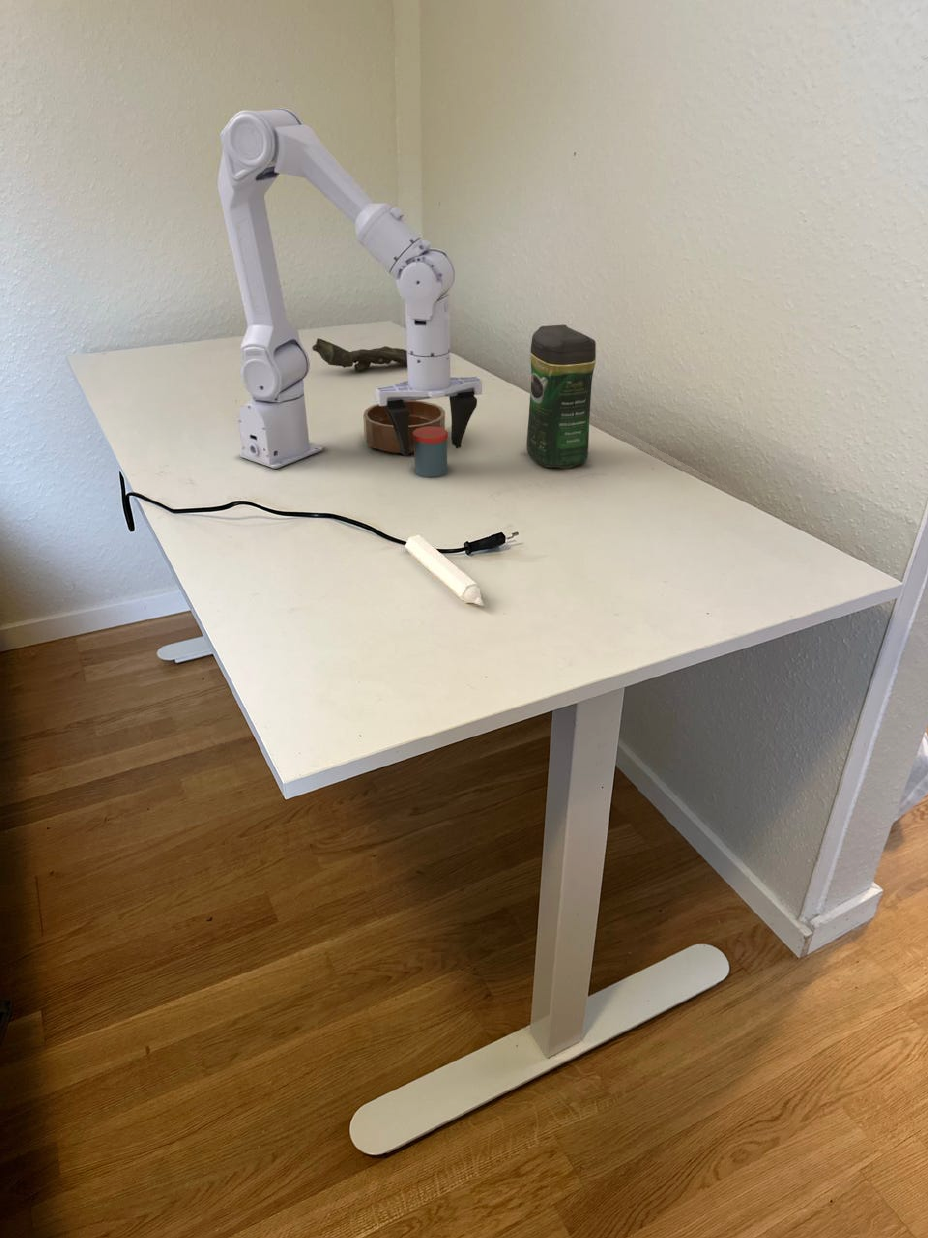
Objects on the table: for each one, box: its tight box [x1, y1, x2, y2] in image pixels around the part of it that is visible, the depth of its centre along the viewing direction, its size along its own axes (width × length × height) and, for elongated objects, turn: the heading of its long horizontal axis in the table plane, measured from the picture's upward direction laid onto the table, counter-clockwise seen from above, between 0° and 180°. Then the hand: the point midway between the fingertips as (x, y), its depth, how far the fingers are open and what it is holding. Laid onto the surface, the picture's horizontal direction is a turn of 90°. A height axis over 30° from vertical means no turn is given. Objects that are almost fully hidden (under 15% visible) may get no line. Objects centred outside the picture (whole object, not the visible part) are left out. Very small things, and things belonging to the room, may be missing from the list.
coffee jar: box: [525, 324, 597, 469], centre depth 120 cm, size 10×8×19 cm
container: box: [413, 427, 449, 478], centre depth 120 cm, size 5×5×6 cm
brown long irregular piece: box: [311, 337, 407, 373], centre depth 161 cm, size 6×6×20 cm
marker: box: [404, 534, 485, 608], centre depth 94 cm, size 3×2×16 cm
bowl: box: [362, 400, 446, 454], centre depth 130 cm, size 12×12×4 cm
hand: (430, 449), depth 120 cm, fingers open, 7 cm apart
